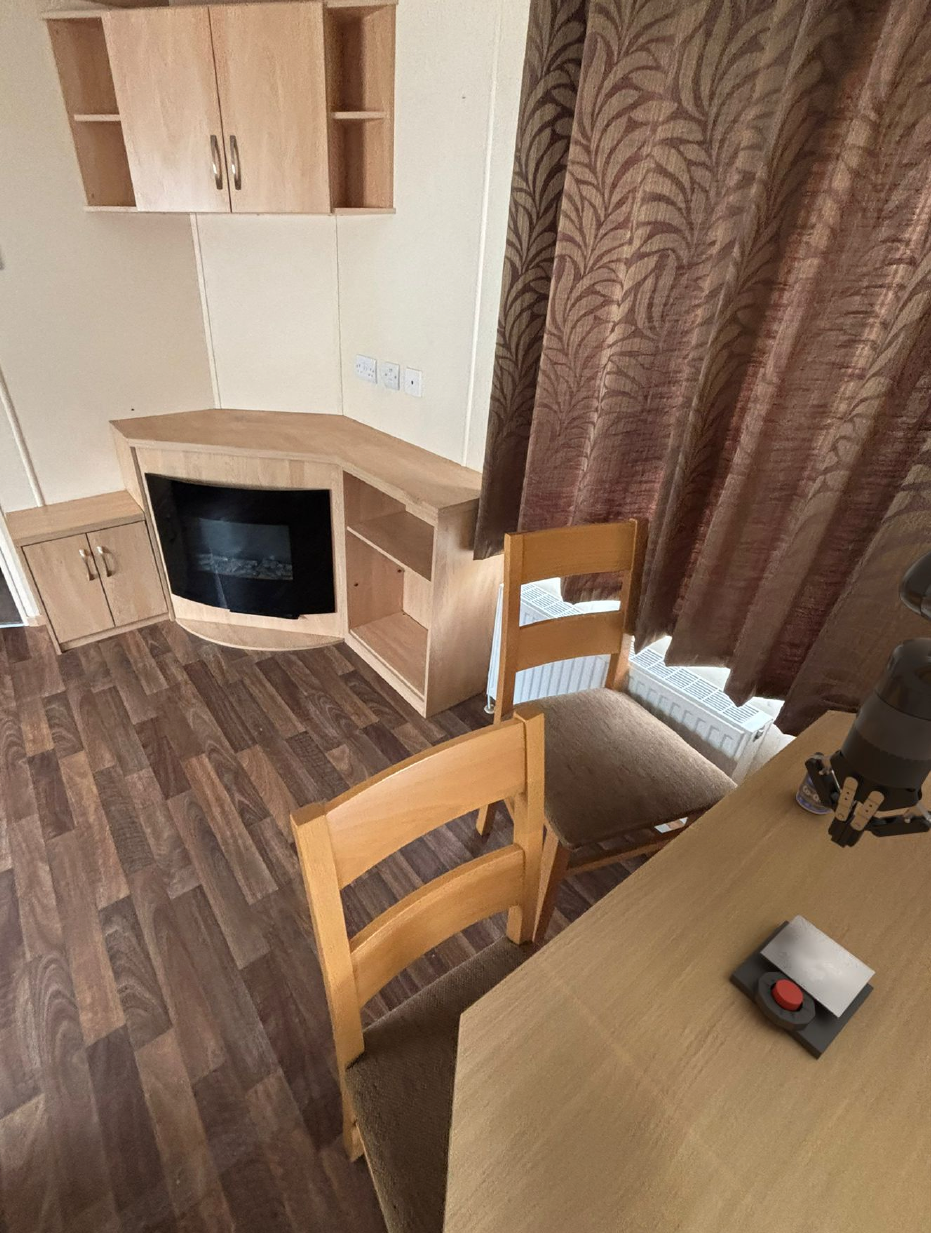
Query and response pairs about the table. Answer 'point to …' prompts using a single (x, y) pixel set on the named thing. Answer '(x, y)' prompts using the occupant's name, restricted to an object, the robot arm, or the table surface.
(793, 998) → the tare button
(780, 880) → the table surface
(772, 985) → the scale
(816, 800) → the pill bottle
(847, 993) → the pan
